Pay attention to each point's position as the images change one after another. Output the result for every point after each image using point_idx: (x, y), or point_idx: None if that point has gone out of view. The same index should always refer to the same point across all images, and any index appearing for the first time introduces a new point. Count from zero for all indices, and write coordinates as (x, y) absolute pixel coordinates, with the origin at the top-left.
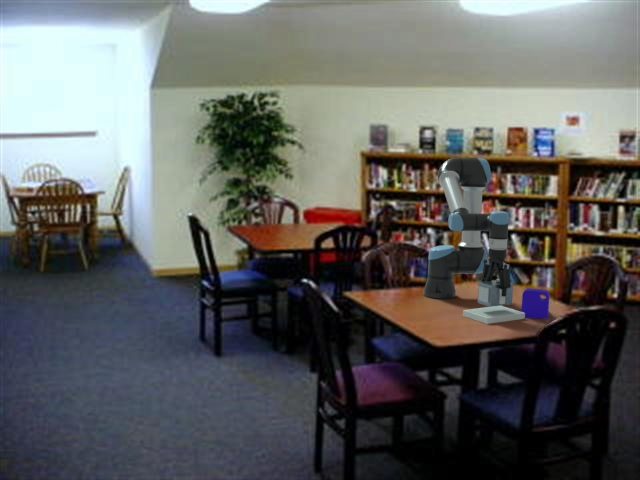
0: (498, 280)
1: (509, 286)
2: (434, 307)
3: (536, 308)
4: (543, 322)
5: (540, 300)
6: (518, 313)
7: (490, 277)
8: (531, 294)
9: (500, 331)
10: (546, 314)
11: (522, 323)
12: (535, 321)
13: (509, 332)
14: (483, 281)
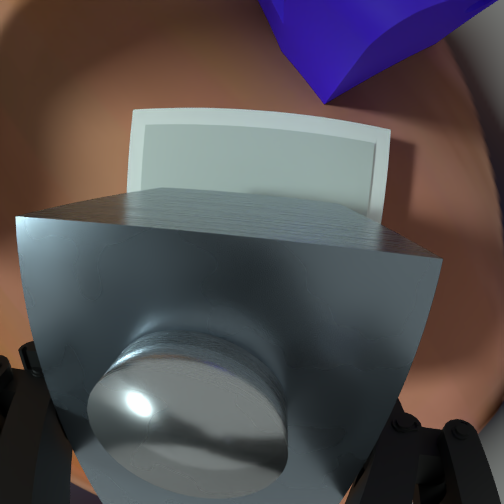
0: (214, 488)
1: (465, 446)
2: (12, 346)
3: (417, 43)
4: (474, 125)
5: (460, 14)
6: (379, 185)
7: (55, 473)
8: (437, 15)
9: (426, 421)
10: (443, 37)
11: (435, 244)
12: (446, 139)
13: (455, 402)
14: (94, 488)
